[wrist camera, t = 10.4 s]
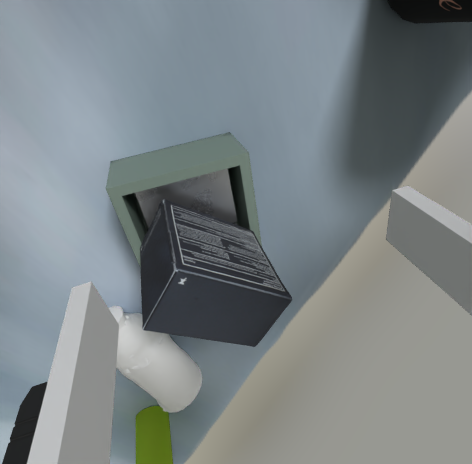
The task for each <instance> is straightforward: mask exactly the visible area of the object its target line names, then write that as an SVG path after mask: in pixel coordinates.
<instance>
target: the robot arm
mask: <svg viewBox="0 0 472 464" xmlns="http://www.w3.org/2000/svg"><path fill="white" fill-rule="evenodd" d="M386 240H387V241H388V242H389V243H391V244H392V245H393V246H394V247H395V248H396V249H397V250H398V251H399V252H401V253H402V254H403V255H404V256H405V257H406V258H407V259H408V260H410V261H411V262H412V263H413V264H414V265H415V266H416V267H418V268H419V269H420V270H421V271H423V273H424V274H426V275H427V276H428V277H429V278H430V279H431V280H432V281H433V282H434V283H436V284H437V285H438V286H439V287H440V288H441V289H442V290H443V291H445V292H446V293H447V294H448V295H449V296H450V297H451V298H452V299H454V300H455V301H456V302H457V303H458V304H459V305H460V306H462V307H463V308H464V309H465V310H466V311H467V312H468V313H470V314H471V315H472V224H470V223H469V222H467V221H465V220H464V219H462V218H460V217H459V216H457V215H455V214H454V213H452V212H450V211H449V210H447V209H446V208H444V207H442V206H440V205H439V204H438V203H436V202H434V201H433V200H431V199H429V198H428V197H426V196H424V195H422V194H421V193H420V192H418V191H416V190H415V189H413V188H411V187H410V186H405V187H401V188H398V189H395V190H392V196H391V204H390V211H389V220H388V227H387V235H386ZM118 334H119V324H118V322H117V321H116V319H115V318H114V316H113V315H112V313H111V311H110V310H109V308H108V307H107V305H106V304H105V302H104V300H103V299H102V297H101V296H100V294H99V293H98V291H97V290H96V288H95V286H94V285H93V283H92V282H89V283H85V284H82V285H79V286H76V287H72V290H71V293H70V297H69V301H68V305H67V309H66V313H65V317H64V321H63V325H62V329H61V332H60V336H59V340H58V344H57V348H56V352H55V356H54V360H53V364H52V368H51V371H50V375H49V379H48V382H45V383H42V384H39V385H36V386H33V387H32V388H31V389H30V391H29V393H28V394H27V396H26V397H25V399H24V400H23V402H22V404H21V405H20V408H19V411H18V415H17V418H16V421H15V427H14V428H13V431H12V434H11V437H10V443H9V444H8V447H7V450H6V453H5V456H4V460H3V463H2V464H110V450H111V435H112V421H113V406H114V392H115V378H116V363H117V349H118Z"/></svg>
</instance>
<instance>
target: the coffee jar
mask: <svg viewBox="0 0 472 464" xmlns="http://www.w3.org/2000/svg"><path fill="white" fill-rule="evenodd" d="M388 1H389V4H390V6H391V8H392V9H393V10H394V11H395V12H396V13H397V14H398V15H399V16H400V17H401V18H402V19H404V20H407V21H410V22H413V23H439V22H472V0H388Z"/></svg>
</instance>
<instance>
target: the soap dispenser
mask: <svg viewBox="0 0 472 464" xmlns="http://www.w3.org/2000/svg"><path fill="white" fill-rule="evenodd" d="M136 464H173V458H172V447H171V436H170V424H169V413H168V412H165V411H163V408H161V407H160V406H152V407H148V408H145V409H143V410H142V411H140V412H139V413H138V414H137V416H136Z"/></svg>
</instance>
